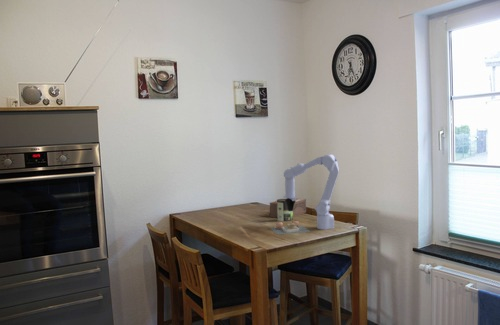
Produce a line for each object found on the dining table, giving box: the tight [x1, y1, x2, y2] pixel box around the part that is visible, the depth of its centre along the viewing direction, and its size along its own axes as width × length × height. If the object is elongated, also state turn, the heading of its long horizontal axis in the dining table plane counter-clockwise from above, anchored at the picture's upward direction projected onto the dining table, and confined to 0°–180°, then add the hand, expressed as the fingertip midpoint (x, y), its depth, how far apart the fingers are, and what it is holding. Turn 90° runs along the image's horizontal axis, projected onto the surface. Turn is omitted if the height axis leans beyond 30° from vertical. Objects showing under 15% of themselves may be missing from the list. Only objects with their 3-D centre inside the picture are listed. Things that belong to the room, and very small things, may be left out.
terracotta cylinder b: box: [275, 221, 284, 230], centre depth 229 cm, size 4×4×4 cm
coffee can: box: [276, 198, 294, 222], centre depth 254 cm, size 10×10×14 cm
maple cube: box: [286, 222, 296, 230], centre depth 223 cm, size 4×4×4 cm
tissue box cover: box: [269, 197, 307, 218], centre depth 276 cm, size 26×14×10 cm, turn 144°
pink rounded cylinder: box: [291, 220, 300, 228], centre depth 231 cm, size 4×4×4 cm
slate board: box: [269, 225, 312, 235], centre depth 226 cm, size 20×16×1 cm
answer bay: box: [282, 226, 300, 233], centre depth 224 cm, size 8×8×2 cm
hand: (290, 211), depth 236 cm, fingers closed
